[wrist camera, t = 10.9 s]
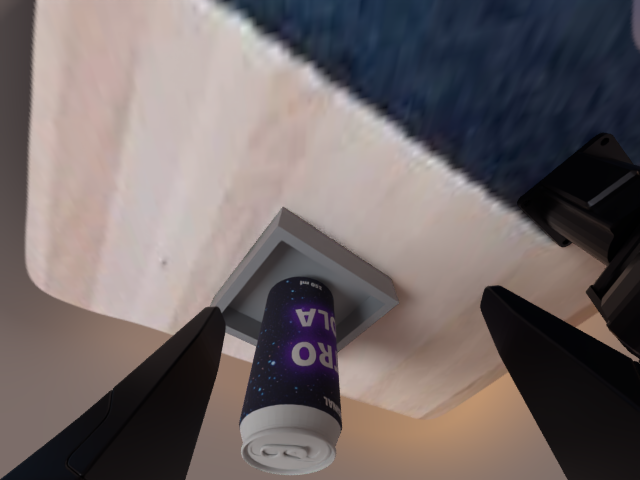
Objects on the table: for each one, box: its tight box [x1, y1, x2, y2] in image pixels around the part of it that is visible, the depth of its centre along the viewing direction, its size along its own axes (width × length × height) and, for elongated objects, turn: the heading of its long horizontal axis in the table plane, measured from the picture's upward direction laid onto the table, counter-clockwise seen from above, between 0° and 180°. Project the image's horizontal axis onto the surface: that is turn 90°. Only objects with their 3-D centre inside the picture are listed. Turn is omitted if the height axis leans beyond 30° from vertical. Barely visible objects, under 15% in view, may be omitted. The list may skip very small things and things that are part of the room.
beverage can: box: [239, 277, 342, 475], centre depth 19 cm, size 6×6×12 cm
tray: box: [210, 207, 399, 353], centre depth 24 cm, size 12×12×3 cm
